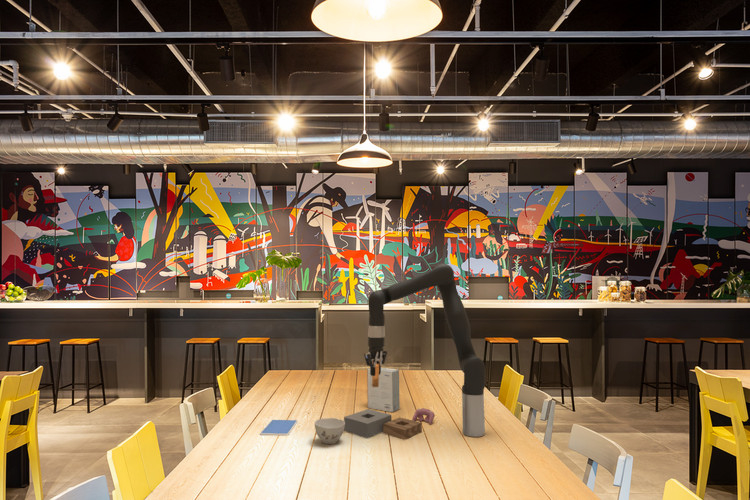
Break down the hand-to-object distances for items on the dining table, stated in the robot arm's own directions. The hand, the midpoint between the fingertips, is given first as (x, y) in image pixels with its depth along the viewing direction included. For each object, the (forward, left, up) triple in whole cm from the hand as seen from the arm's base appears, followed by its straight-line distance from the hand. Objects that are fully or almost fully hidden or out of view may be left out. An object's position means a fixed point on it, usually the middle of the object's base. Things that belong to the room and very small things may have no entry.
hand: (375, 374), depth 196 cm
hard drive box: (-28, -19, -25) cm, 42 cm away
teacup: (+21, -6, -25) cm, 33 cm away
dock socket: (+1, -3, -24) cm, 25 cm away
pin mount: (-6, +11, -24) cm, 27 cm away
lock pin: (0, 0, -5) cm, 5 cm away
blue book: (+25, -35, -25) cm, 50 cm away
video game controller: (-24, +9, -25) cm, 36 cm away
